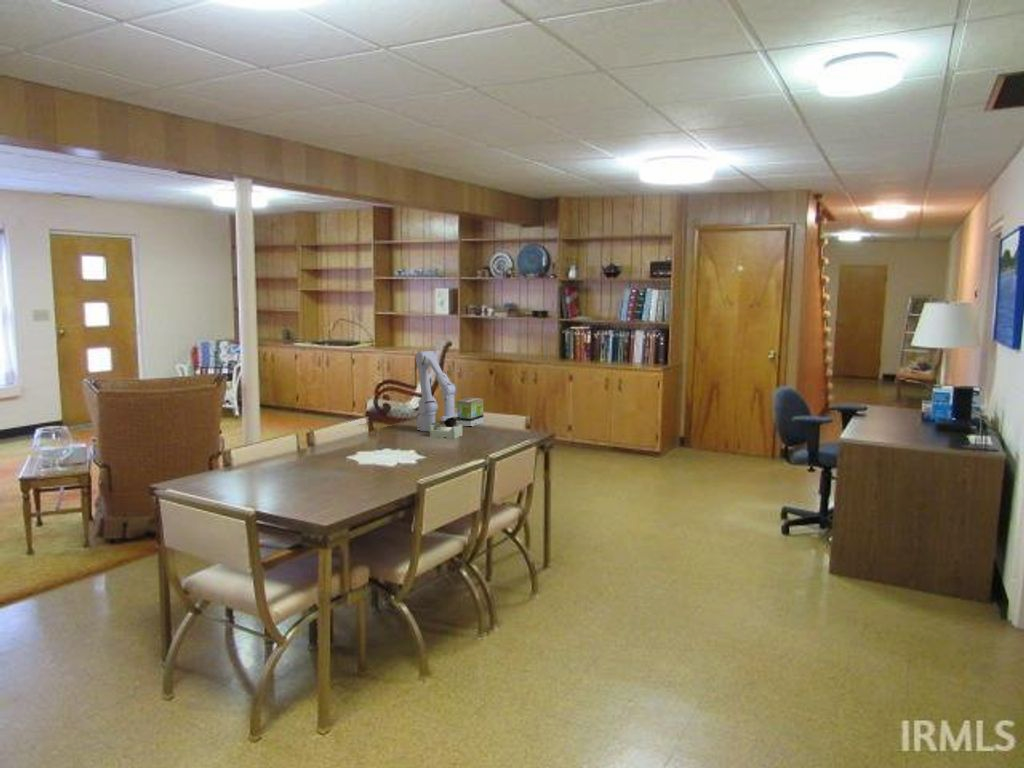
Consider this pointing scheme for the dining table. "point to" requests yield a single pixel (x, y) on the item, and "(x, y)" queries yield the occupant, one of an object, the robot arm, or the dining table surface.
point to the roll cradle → (448, 434)
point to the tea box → (470, 411)
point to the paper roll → (444, 428)
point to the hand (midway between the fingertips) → (449, 432)
